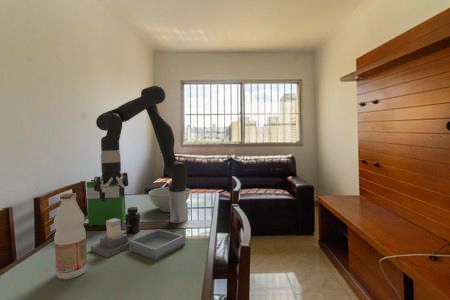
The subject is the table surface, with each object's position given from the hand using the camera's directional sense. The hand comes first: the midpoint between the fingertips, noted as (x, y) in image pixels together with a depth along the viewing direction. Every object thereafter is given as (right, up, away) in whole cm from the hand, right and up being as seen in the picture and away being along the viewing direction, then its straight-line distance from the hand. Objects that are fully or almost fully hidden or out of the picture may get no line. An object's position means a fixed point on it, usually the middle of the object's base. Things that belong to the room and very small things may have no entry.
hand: (112, 198), depth 108 cm
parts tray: (+19, -21, +1) cm, 28 cm away
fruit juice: (-6, -23, -19) cm, 30 cm away
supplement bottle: (+2, -21, +19) cm, 28 cm away
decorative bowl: (+12, -18, +58) cm, 62 cm away
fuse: (0, -19, +1) cm, 19 cm away
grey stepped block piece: (0, -21, +1) cm, 21 cm away
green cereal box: (-18, -20, +34) cm, 43 cm away
